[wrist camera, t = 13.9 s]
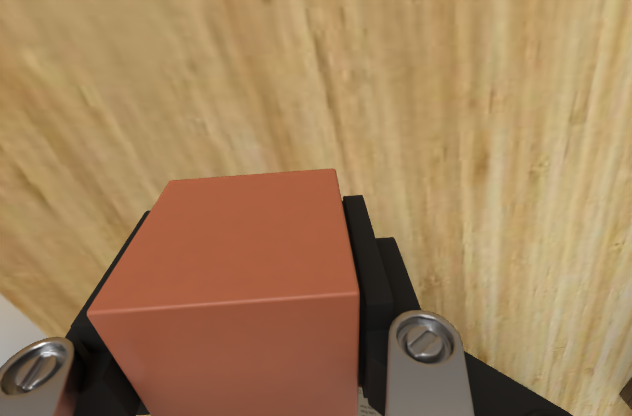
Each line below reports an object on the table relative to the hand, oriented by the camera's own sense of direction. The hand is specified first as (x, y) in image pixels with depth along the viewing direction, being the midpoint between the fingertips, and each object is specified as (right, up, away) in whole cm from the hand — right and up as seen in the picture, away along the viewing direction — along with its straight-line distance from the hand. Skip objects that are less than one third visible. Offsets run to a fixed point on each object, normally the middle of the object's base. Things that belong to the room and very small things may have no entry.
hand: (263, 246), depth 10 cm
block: (0, 0, 0) cm, 0 cm away
